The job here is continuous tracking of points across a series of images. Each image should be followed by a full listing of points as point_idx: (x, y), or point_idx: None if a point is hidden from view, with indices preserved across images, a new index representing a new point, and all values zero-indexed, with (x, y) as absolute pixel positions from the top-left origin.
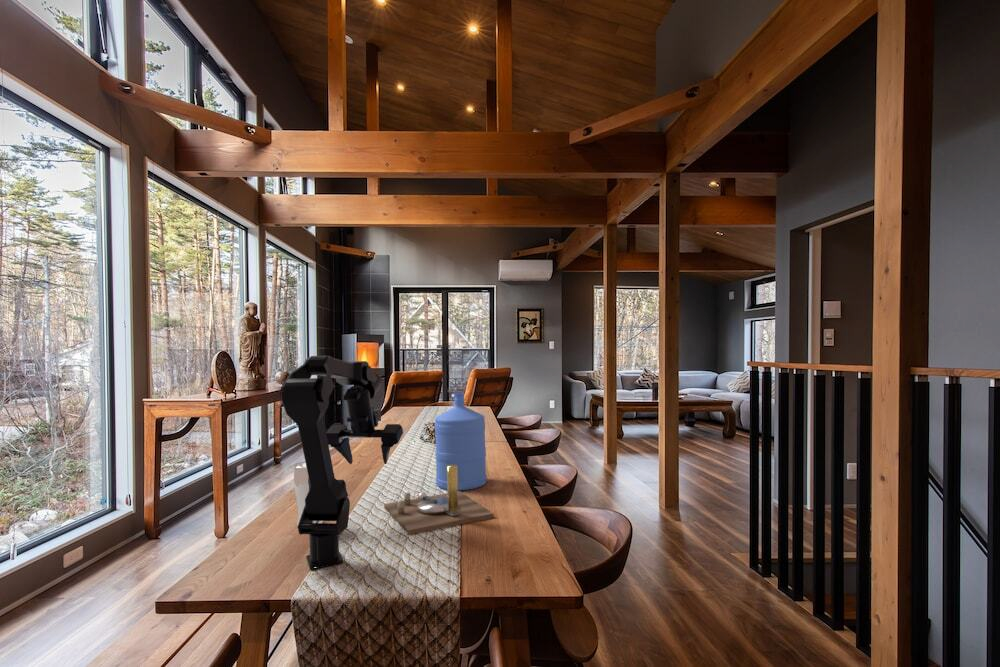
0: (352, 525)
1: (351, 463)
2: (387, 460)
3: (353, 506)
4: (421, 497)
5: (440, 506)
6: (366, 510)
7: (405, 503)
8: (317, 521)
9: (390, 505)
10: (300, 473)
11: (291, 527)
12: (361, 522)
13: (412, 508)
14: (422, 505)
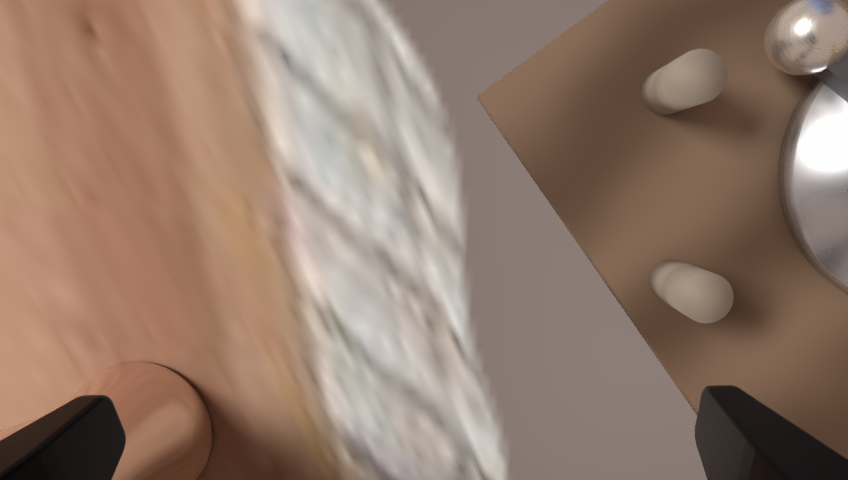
0: (399, 428)
1: (121, 439)
2: (758, 410)
3: (247, 87)
4: (813, 73)
5: None
6: (372, 161)
7: (660, 112)
8: (190, 473)
9: (538, 124)
10: None
11: None
12: (433, 379)
13: (729, 177)
14: (845, 219)
